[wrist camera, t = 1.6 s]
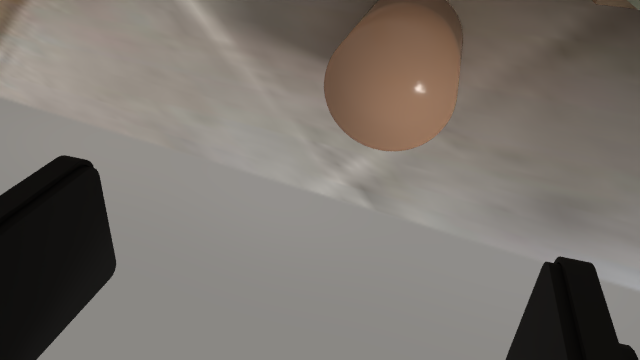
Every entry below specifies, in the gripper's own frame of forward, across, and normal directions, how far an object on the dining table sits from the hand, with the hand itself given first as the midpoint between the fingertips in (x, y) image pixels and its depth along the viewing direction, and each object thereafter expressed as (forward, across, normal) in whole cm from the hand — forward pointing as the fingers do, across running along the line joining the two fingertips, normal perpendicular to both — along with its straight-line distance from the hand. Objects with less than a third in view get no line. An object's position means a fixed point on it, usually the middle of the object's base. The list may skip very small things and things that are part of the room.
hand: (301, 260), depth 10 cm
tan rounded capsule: (+17, 0, 0) cm, 17 cm away
